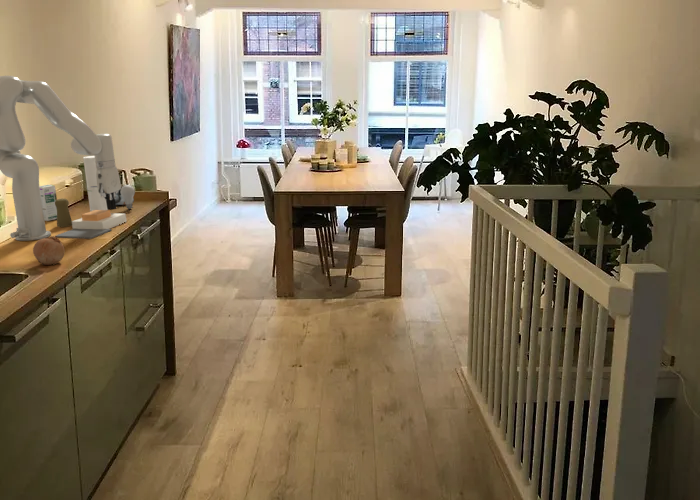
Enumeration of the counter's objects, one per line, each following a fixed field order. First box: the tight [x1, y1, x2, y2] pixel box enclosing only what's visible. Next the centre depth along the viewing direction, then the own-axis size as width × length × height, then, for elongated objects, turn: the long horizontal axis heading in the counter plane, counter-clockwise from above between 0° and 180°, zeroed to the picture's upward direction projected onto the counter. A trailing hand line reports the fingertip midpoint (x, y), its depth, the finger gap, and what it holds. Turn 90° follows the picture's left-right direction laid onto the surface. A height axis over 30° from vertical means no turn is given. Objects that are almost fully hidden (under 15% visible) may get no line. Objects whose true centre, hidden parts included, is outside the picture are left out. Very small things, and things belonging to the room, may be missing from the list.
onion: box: [32, 235, 66, 266], centre depth 238 cm, size 10×9×10 cm
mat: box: [54, 228, 112, 240], centre depth 280 cm, size 13×16×1 cm
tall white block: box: [82, 155, 109, 212], centre depth 313 cm, size 7×7×25 cm
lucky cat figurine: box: [115, 183, 135, 206], centre depth 335 cm, size 15×12×14 cm
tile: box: [81, 209, 112, 221], centre depth 290 cm, size 9×7×2 cm
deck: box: [71, 212, 127, 229], centre depth 292 cm, size 16×14×4 cm
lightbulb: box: [120, 184, 136, 210], centre depth 323 cm, size 6×6×11 cm
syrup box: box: [39, 184, 58, 222], centre depth 308 cm, size 6×6×14 cm
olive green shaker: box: [55, 198, 73, 228], centre depth 295 cm, size 6×6×11 cm
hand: (111, 208), depth 299 cm, fingers closed
